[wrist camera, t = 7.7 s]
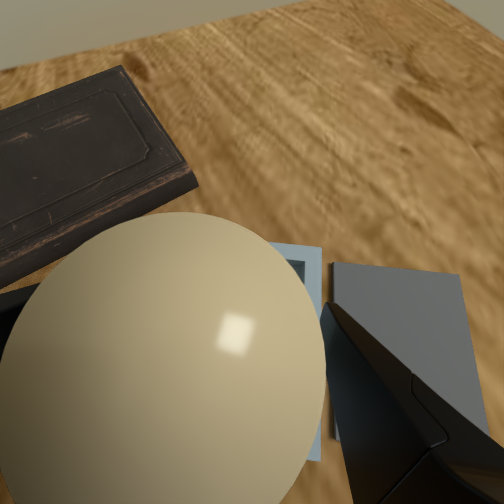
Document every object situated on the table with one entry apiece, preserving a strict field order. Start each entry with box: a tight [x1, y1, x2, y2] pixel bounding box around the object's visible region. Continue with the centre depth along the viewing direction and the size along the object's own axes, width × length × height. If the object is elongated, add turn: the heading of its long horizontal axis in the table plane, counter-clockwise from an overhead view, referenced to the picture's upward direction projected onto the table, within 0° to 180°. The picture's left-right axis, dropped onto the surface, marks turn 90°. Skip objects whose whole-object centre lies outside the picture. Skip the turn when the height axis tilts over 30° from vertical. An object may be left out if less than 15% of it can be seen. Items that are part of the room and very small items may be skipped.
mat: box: [332, 262, 490, 441], centre depth 17 cm, size 12×10×1 cm
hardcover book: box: [0, 65, 199, 289], centre depth 20 cm, size 16×23×2 cm
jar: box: [0, 212, 326, 504], centre depth 10 cm, size 5×5×13 cm
